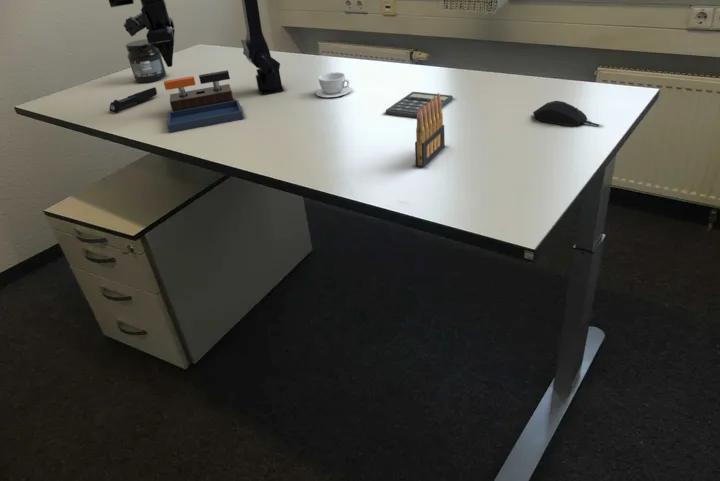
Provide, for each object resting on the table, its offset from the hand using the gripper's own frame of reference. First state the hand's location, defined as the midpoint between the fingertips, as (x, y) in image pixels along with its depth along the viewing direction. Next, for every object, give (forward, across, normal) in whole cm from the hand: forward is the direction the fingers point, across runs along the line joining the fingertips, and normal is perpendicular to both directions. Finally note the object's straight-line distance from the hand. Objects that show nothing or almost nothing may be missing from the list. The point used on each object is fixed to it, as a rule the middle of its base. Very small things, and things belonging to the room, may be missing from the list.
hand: (170, 62), depth 148 cm
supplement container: (+13, -40, -11) cm, 44 cm away
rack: (+13, +2, +6) cm, 15 cm away
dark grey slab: (+13, +2, +10) cm, 17 cm away
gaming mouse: (+14, +57, +84) cm, 103 cm away
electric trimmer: (+13, -13, -14) cm, 24 cm away
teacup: (+14, +9, +42) cm, 45 cm away
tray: (+13, +12, +6) cm, 19 cm away
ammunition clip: (+14, +61, +50) cm, 80 cm away
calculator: (+14, +32, +59) cm, 68 cm away
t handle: (+13, +2, +1) cm, 13 cm away
